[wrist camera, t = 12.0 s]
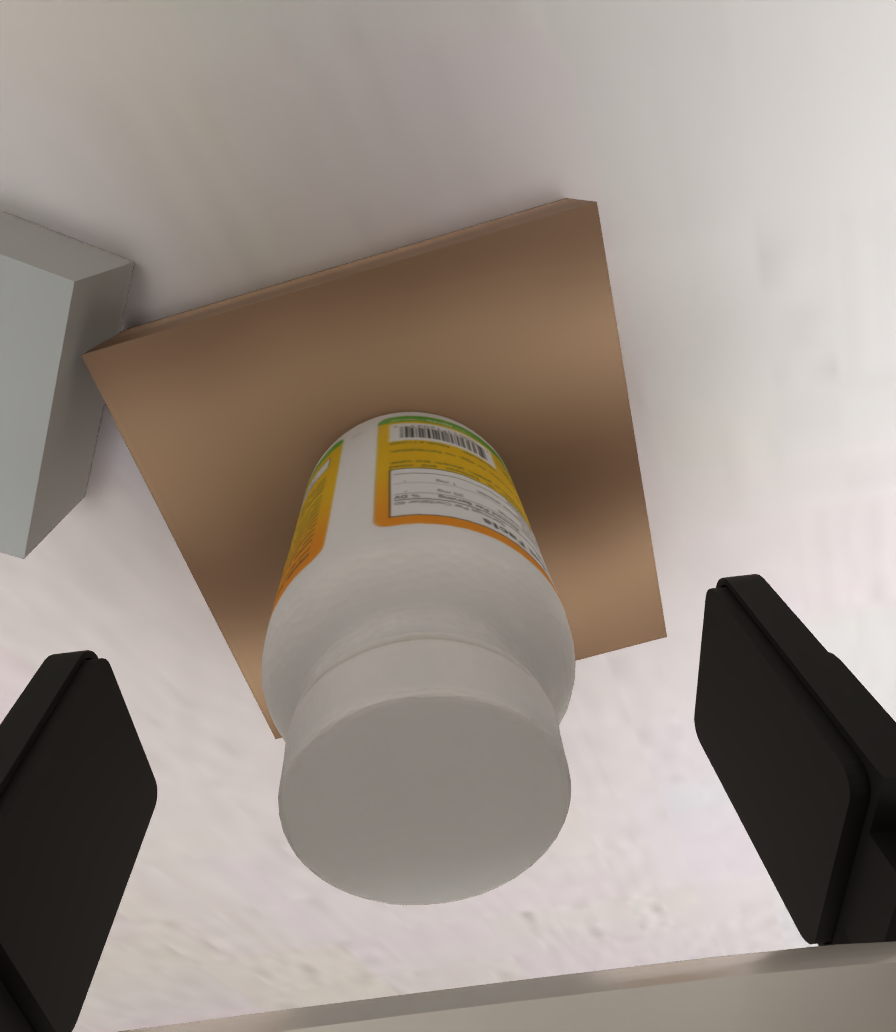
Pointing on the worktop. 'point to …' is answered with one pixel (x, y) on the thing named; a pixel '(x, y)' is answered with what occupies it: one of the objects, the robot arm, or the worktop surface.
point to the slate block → (50, 372)
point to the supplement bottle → (418, 669)
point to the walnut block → (392, 389)
